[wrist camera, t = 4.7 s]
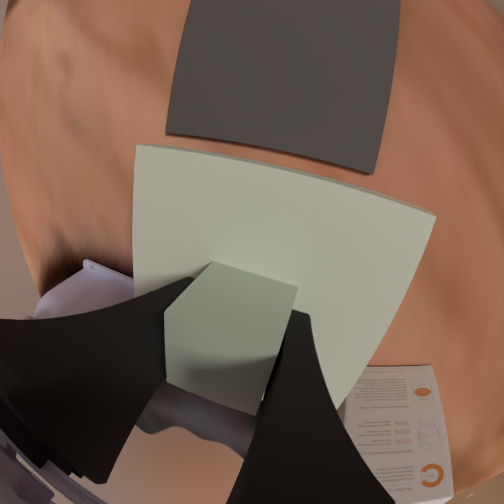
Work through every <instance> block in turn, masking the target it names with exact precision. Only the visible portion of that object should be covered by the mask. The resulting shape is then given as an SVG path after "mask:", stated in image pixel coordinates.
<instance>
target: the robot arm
mask: <svg viewBox="0 0 504 504" xmlns="http://www.w3.org/2000/svg"><path fill="white" fill-rule="evenodd" d="M83 266H84V269H82V270H81V271H79V272H77V273H76V274H74V275H73V276H71V277H70V278H68V279H67V280H65V281H63V282H62V283H60V284H59V285H57V286H56V287H54V288H53V289H51V290H50V291H48V292H47V293H46V294H45V295H44V296H43V297H42V298H41V300H40V301H39V303H38V305H37V307H36V309H35V313H34V317H31V316H28V317H26V318H24V319H23V320H12V319H0V504H55V503H53V501H51V499H52V498H53V497H54V493H53V491H51V490H50V489H49V488H48V487H47V485H46V484H45V483H43V482H42V481H41V480H40V479H39V478H38V477H37V476H36V475H34V474H33V473H32V472H31V471H30V470H29V469H27V468H26V467H25V466H24V465H23V464H22V463H20V462H19V461H18V460H17V458H16V453H18V454H19V455H20V456H21V457H22V458H23V459H24V460H25V461H26V462H27V463H28V464H29V465H30V466H31V467H32V468H33V469H34V470H35V471H36V472H37V473H38V474H39V475H40V476H41V477H42V478H44V479H45V480H46V481H47V482H48V483H49V484H50V485H52V486H53V487H54V488H55V489H56V490H58V491H59V492H60V493H61V494H63V495H64V496H65V497H66V498H68V499H69V500H70V501H72V502H73V503H74V504H108V503H106V502H105V501H103V500H101V499H100V498H98V497H97V496H95V495H94V494H92V493H91V492H90V491H88V490H87V489H85V488H84V487H82V486H81V485H80V484H78V483H77V482H76V481H74V480H73V479H71V478H70V477H69V475H70V474H71V472H72V473H74V474H75V475H76V476H78V477H79V478H82V477H83V475H84V476H85V477H86V478H88V479H89V480H91V481H92V482H94V483H95V484H104V483H107V480H108V478H109V475H110V473H111V471H112V469H113V467H114V464H115V462H116V460H117V458H118V456H119V454H120V452H121V450H122V448H123V446H124V444H125V442H126V440H127V438H128V436H129V434H130V433H131V430H132V429H133V427H134V425H135V424H136V422H137V420H138V418H139V417H140V415H141V413H142V412H143V410H144V408H145V406H146V405H147V403H148V401H149V400H150V398H151V397H152V395H153V394H154V393H155V391H156V390H157V388H158V387H159V386H160V385H161V383H162V382H163V381H164V379H165V378H166V377H167V375H166V357H165V330H164V311H165V310H166V309H167V308H168V307H169V306H170V305H171V304H172V303H173V302H174V301H175V300H176V299H177V298H178V297H179V296H180V295H181V294H182V293H183V292H184V291H185V289H186V288H187V287H188V286H189V285H190V284H191V283H192V282H193V281H194V280H195V279H196V278H193V277H190V276H189V277H186V278H183V279H181V280H178V281H176V282H173V283H171V284H168V285H166V286H164V287H161V288H159V289H156V290H154V291H151V292H149V293H146V294H144V295H141V296H139V297H136V298H135V293H134V279H133V278H131V277H128V276H126V275H124V274H121V273H119V272H116V271H114V270H112V269H109V268H107V267H104V266H102V265H100V264H98V263H95V262H93V261H91V260H88V259H86V260H84V261H83ZM226 504H395V501H394V499H393V498H392V497H391V496H390V494H389V493H388V492H387V491H386V490H385V488H384V487H383V486H382V485H381V483H380V482H379V481H378V480H377V478H376V477H375V476H374V474H373V473H372V472H371V470H370V469H369V467H368V466H367V464H366V463H365V461H364V460H363V458H362V457H361V455H360V453H359V452H358V450H357V448H356V446H355V445H354V443H353V441H352V439H351V438H350V436H349V434H348V432H347V431H346V429H345V427H344V425H343V423H342V421H341V419H340V417H339V414H338V412H337V410H336V408H335V405H334V403H333V401H332V398H331V396H330V393H329V391H328V388H327V385H326V382H325V379H324V376H323V373H322V370H321V366H320V363H319V359H318V355H317V352H316V347H315V343H314V338H313V333H312V326H311V317H310V315H309V314H307V313H304V312H300V311H297V310H293V309H292V311H291V314H290V317H289V321H288V324H287V327H286V330H285V333H284V337H283V340H282V343H281V346H280V349H279V352H278V355H277V358H276V361H275V364H274V367H273V369H272V372H271V375H270V378H269V381H268V383H267V386H266V389H265V393H264V397H263V401H262V405H261V409H260V413H259V417H258V421H257V425H256V429H255V432H254V435H253V439H252V442H251V444H250V447H249V449H248V452H247V455H246V457H245V460H244V462H243V465H242V467H241V470H240V472H239V474H238V477H237V479H236V482H235V484H234V487H233V489H232V492H231V493H230V496H229V498H228V500H227V502H226Z"/></svg>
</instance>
